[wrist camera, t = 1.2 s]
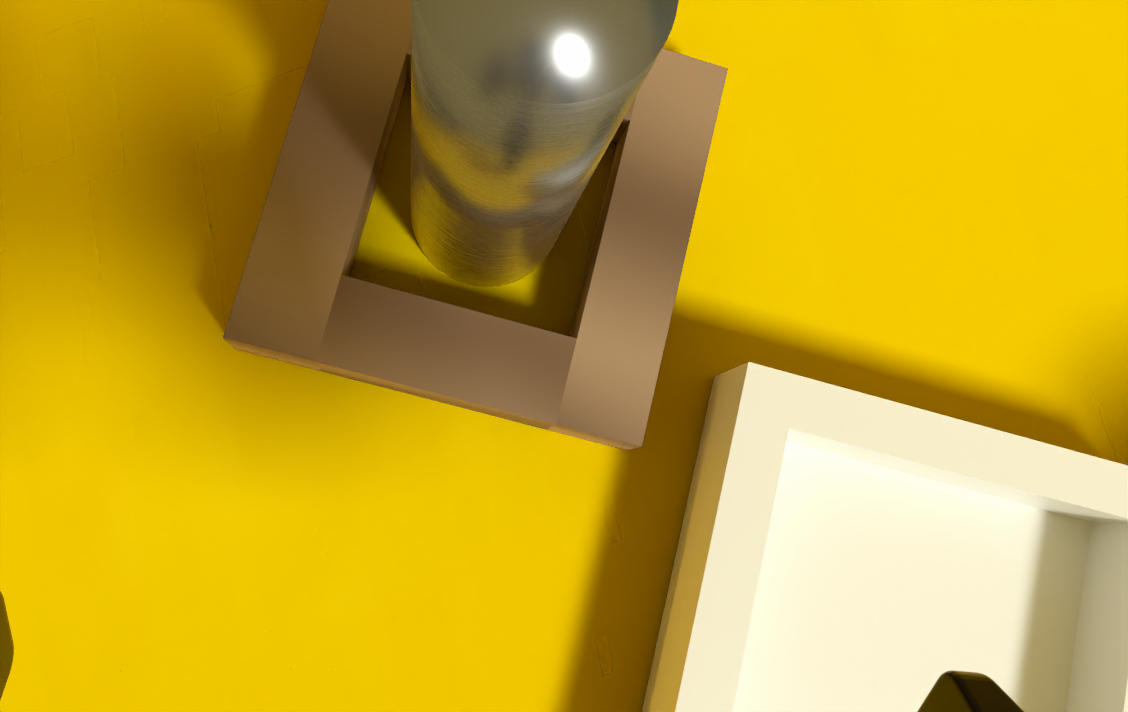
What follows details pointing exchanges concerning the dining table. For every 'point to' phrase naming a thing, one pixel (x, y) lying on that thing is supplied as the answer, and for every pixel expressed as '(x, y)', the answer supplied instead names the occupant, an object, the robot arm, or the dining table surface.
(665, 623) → the bin tray
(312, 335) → the brown flat square frame
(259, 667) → the dining table surface
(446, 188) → the strut
